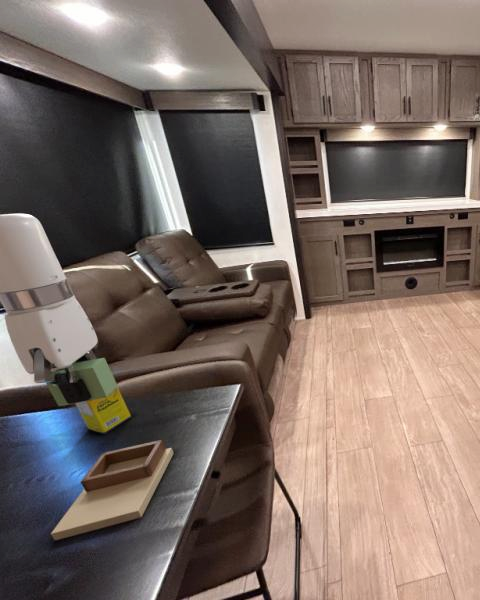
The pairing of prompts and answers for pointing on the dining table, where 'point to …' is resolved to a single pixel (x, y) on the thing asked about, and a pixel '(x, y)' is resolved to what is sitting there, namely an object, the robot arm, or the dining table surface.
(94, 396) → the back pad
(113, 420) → the supplement box
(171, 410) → the dining table surface
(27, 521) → the dining table surface
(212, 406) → the dining table surface
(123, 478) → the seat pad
